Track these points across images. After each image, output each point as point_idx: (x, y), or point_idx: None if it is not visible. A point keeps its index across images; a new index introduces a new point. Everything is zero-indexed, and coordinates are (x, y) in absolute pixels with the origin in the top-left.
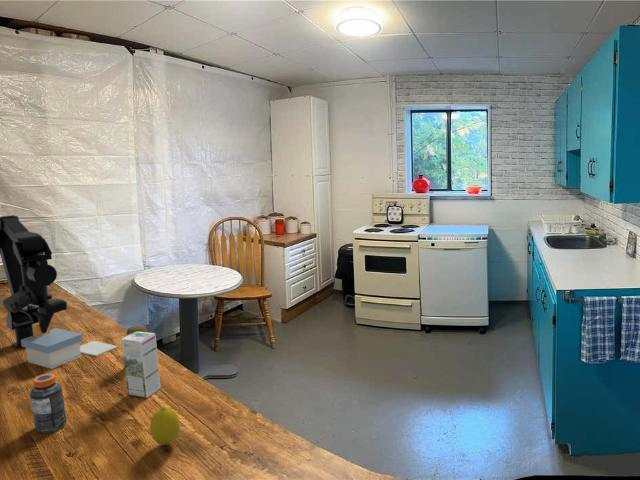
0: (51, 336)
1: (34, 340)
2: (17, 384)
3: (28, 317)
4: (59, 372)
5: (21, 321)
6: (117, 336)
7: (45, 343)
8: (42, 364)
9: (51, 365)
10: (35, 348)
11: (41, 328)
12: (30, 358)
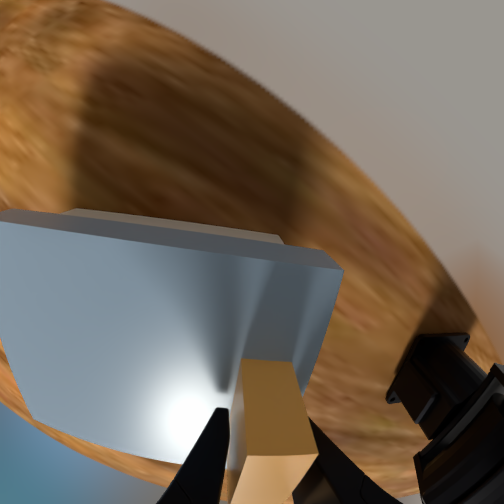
0: (136, 389)
1: (180, 295)
2: (95, 41)
3: (459, 454)
4: (26, 195)
5: (480, 419)
6: (155, 471)
7: (30, 262)
8: (137, 217)
9: (67, 212)
10: (122, 225)
11: (209, 437)
12: (249, 236)
